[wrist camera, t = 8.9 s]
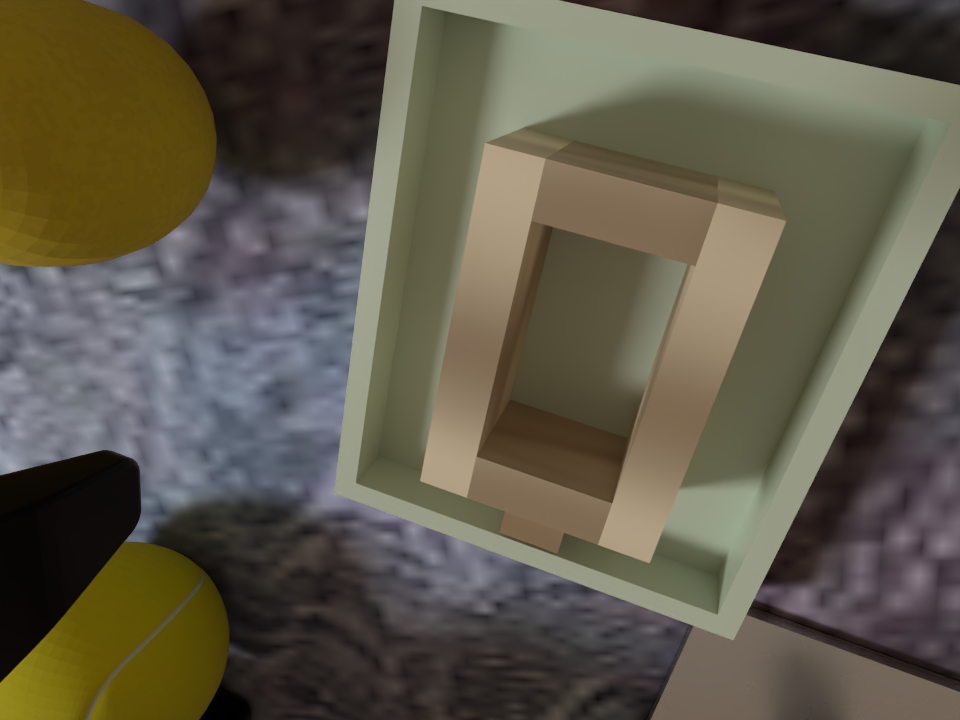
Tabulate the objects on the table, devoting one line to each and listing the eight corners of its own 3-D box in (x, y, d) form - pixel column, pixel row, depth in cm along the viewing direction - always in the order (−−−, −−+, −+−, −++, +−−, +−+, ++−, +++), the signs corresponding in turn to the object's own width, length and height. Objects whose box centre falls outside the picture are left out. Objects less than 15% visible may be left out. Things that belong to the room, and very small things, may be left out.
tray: (731, 587, 20) (733, 640, 18) (364, 457, 22) (333, 492, 20) (969, 89, 14) (1006, 95, 12) (433, -25, 16) (398, -34, 14)
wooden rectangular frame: (523, 127, 16) (485, 142, 13) (774, 190, 15) (786, 220, 12) (449, 475, 20) (408, 538, 18) (638, 543, 19) (627, 620, 17)
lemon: (260, 0, 17) (-54, -35, 10) (290, 226, 19) (48, 326, 12) (79, 9, 19) (-303, -14, 12) (125, 218, 21) (-173, 304, 14)
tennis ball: (261, 530, 24) (108, 693, 18) (272, 676, 27) (143, 858, 21) (94, 485, 26) (-99, 619, 20) (121, 627, 29) (-38, 782, 23)
